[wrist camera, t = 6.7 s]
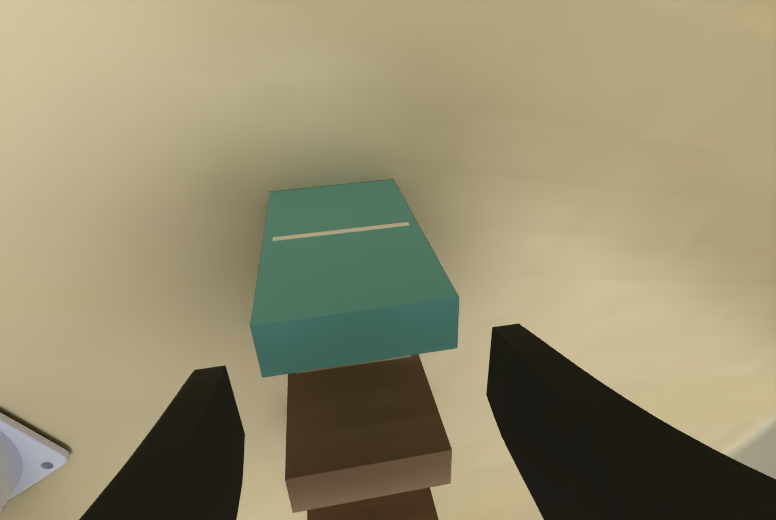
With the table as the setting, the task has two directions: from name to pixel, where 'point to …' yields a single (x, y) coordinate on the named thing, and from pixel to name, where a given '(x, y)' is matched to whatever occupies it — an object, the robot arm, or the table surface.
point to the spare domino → (347, 281)
